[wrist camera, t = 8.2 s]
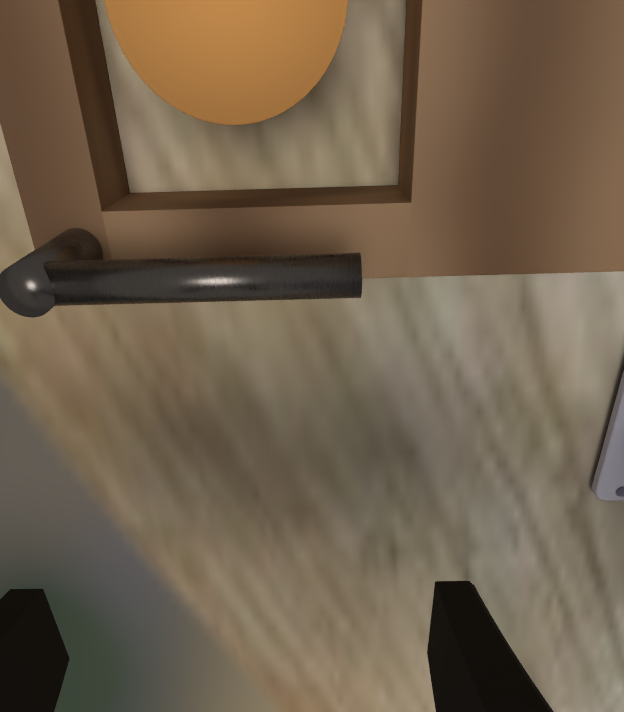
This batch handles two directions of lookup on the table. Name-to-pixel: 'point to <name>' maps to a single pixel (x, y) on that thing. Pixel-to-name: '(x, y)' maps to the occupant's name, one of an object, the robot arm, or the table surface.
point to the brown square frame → (364, 203)
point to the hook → (168, 277)
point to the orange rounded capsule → (229, 52)
